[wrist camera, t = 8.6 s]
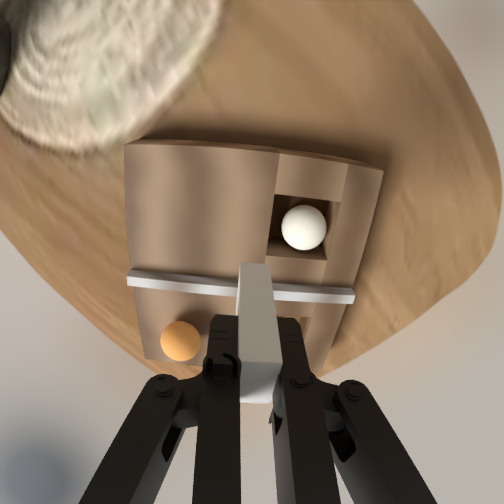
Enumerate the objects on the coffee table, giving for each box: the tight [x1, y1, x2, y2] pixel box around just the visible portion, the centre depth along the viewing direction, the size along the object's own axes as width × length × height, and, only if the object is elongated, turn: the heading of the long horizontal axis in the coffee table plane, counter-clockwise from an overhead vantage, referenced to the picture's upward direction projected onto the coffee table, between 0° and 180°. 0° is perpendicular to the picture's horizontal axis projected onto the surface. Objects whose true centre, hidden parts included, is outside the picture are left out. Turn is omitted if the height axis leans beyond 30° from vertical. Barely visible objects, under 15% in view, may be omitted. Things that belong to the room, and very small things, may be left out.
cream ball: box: [281, 205, 326, 250], centre depth 26 cm, size 4×4×4 cm
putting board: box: [124, 139, 384, 372], centre depth 28 cm, size 21×24×5 cm
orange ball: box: [160, 321, 201, 361], centre depth 28 cm, size 4×4×4 cm
